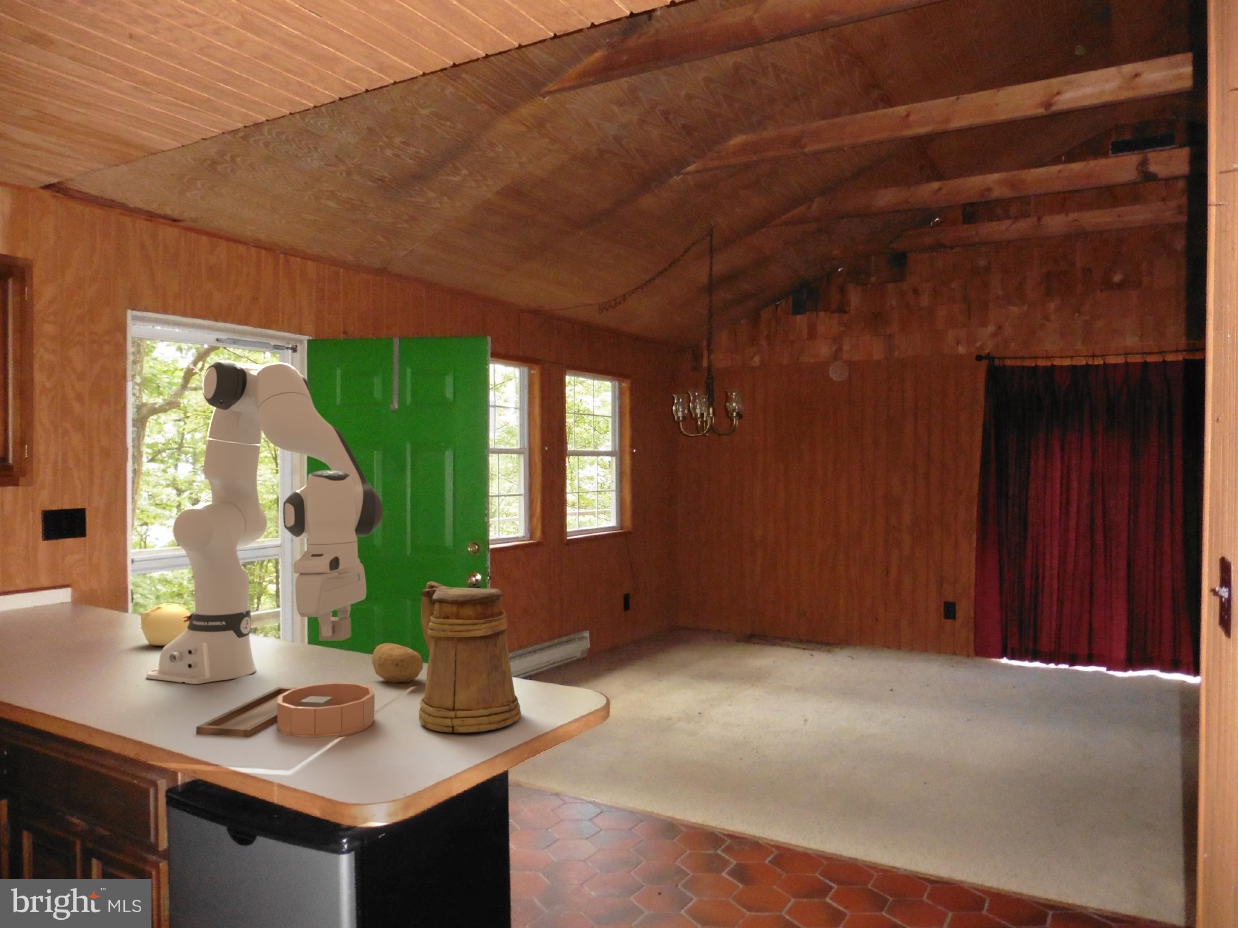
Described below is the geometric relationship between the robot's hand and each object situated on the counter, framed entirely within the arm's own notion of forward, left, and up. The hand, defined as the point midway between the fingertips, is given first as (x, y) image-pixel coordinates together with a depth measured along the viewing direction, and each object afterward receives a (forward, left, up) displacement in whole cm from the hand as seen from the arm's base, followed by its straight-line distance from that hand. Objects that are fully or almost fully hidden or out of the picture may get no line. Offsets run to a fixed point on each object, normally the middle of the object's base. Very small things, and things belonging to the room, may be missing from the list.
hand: (335, 632), depth 152 cm
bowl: (-1, -1, -17) cm, 17 cm away
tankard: (+22, +7, -17) cm, 29 cm away
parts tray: (-15, +2, -17) cm, 22 cm away
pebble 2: (0, 0, -1) cm, 1 cm away
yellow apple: (-74, +54, -17) cm, 93 cm away
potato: (0, +29, -17) cm, 33 cm away
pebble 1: (-3, -1, -16) cm, 16 cm away
